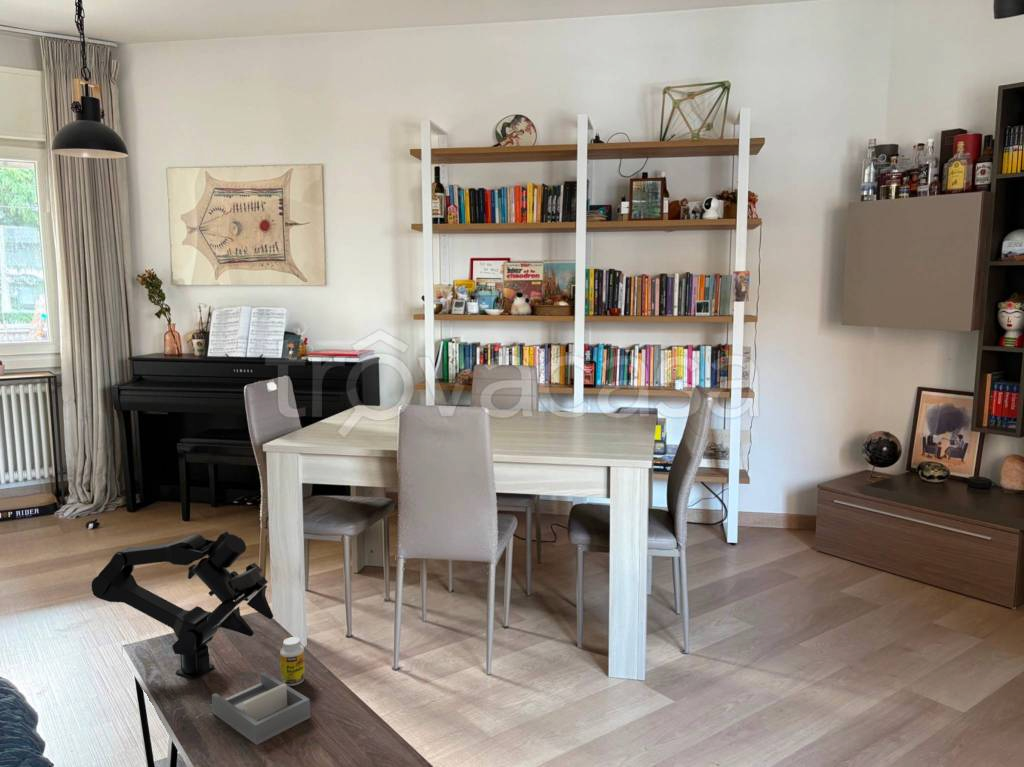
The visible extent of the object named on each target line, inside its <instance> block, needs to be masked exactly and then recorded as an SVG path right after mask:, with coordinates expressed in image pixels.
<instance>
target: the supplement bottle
mask: <svg viewBox="0 0 1024 767" xmlns="http://www.w3.org/2000/svg"><path fill="white" fill-rule="evenodd" d="M304 648H305V647H304V646H303V645H302V644H301V639H300V638H299V637H298V636H292V637H291V636H290V637H287V638H285V639H284V640H283V641H282V648H280V651H279V661H280V662H279V664H280V682H282V683H284V684H286V685H287V686H289V687H293V686H297V685H300V684H302V683H303V682H304V680H305V676H306V673H305V667H306V666H305V649H304Z"/></svg>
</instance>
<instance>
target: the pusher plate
mask: <svg viewBox="0 0 1024 767" xmlns="http://www.w3.org/2000/svg"><path fill="white" fill-rule="evenodd" d="M286 706H287V685H286V684H281V685H279V686H277V687H275V688H273V689H270V690H268V691H266V692H264V693H262V694H260V695H257V696H255V697H253V698H251V699H249V700H246V701H244V702H243V712H244V713H246V714H247V715H249V716H250V717H251V718H253V719H254V720H256V721H257V720H259V719H261V718H263V717H266V716H268V715H270V714H272V713H274V712H276V711H278V710H280V709H282V708H284V707H286Z"/></svg>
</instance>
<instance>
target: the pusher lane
mask: <svg viewBox="0 0 1024 767" xmlns="http://www.w3.org/2000/svg"><path fill="white" fill-rule="evenodd" d="M281 684H284V683H282V682H281V680H279V679H277V678H276V677H274V676H272V675H270V674H269V673H268V672H265V671H264V672H261V673H260V683H257V684H256V685H253V686H251V687H248V688H246V689H244V690H242V691H240V692H237V693H236V694H233V695H230V696H228V697H226V698H224V697H223V696H221V695H219V693H217V692H215V693H213V694H211V704H212V706H211V707H212V714H213V713H214V715H215V716H216V717H217V718H219V719H220V720H222V721H223V722H224V723H226V724H227V725H229V726H230V727H231V728H232V729H234V730H235V731H237V732H238V733H239V734H241V735H242V736H244V737H245V738H246V739H248V740H249V741H251V742H252V743H253V744H255V745H256V746H257V745H260V744H262V743H263V742H265V741H268V740H270V739H271V738H273V737H275V736H277V735H279V734H281V733H283V732H285V731H287V730H289V729H290V728H293V727H294V726H296V725H299V724H300V723H303V722H304V721H306V720H309V719H310V718H311V706H310V705H311V704H310V703H311V701H310V698H308V697H307V696H306V695H303V694H301V692H298V691H297V690H295V689H294V688H292V687H291V686H287V706H286V707H284V708H282V709H280V710H278V711H276V712H274V713H272V714H270V715H268V716H266V717H263V718H261V719H259V720H257V721H256V720H254V719H253V718H251V717H250V716H249V715H247V714H246V713H244V712H243V702H244V701H246V700H249V699H251V698H253V697H255V696H257V695H260V694H262V693H264V692H266V691H268V690H270V689H273V688H275V687H277V686H279V685H281Z"/></svg>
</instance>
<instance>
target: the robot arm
mask: <svg viewBox="0 0 1024 767" xmlns="http://www.w3.org/2000/svg"><path fill="white" fill-rule="evenodd" d="M246 550H247V546H246V543H245V541H244V540H243V538H241V537H240V536H238V535H235V534H230V533H229V532H228V531H224V532H222V533H220V535H219V536H218V537H217V539H216V540H212V539H208V538H204V537H203V535H201V534H197V533H196V534H193V535H190V536H186V537H183V538H181V539H178V540H176V541H172V542H169V543H168V542H167V543H160V544H152V545H143V546H135V547H133V546H128V547H126V548H125V547H124V548H123V549H121V550H118V551H117V552H115V553H114V555H113V556H112V557H111V559H110V561H109V562H108V563H107V564H106V566H104V568H103V569H102V570H101V571H100V572H99V574H98V575H97V576H95V577H94V578H92V579H93V580H92V581H91V592H92V594H93V596H95V597H96V598H97V599H100V600H103V601H105V602H109V603H122V604H126V605H128V606H129V607H131V608H133V609H135V610H136V611H139V612H141V613H142V614H144V615H146V616H148V617H150V618H152V619H154V620H156V621H157V622H160V623H161V624H163V625H165V626H167V627H168V628H171V629H172V630H173V632H174V634H175V636H176V638H177V641H175V642H174V643H173V644H172V645H171V648H172V650H173V653H174V654H175V655H179V656H180V657H179V658H180V668H179V669H177V670H175V674H176V675H181V676H183V677H186V678H189V679H192V680H194V679H196V678H198V677H200V676H201V675H203V674H206V673H207V672H209V671H210V670H212V669H214V668H215V664H212V663H210V661H211V660H210V652H209V646H208V645H207V644H208V643H209V642H210V641H212V640H213V639H214V635H216V634H217V632H218V629H220V628H222V629H225V630H230V631H234V632H236V633H239V634H243V635H245V636H247V637H252V636H254V634H255V632H254V631H253V629H252V628H251V626H250V625H249V624H248V623H247V621H246V620H245V619H244V617H243V616H241V611H240V606H238V605H240V604H241V603H243V602H244V601H246V602H247V603H246V605H247V606H248V607H250V608H251V609H253V610H254V611H256V612H258V613H259V614H260V615H261V616H264V617H265V618H267V619H269V620H272V619H273V618H274V613H273V612H272V609H271V607H270V604H269V603H268V601H267V600H268V599H267V597H266V591H267V590H266V589H267V588H268V586H267V584H268V582H269V581H268V580H267V579H266V578H265V577H264V576H261V574H262V572H263V569H262V568H261V567H260V566H259V565H258V564H257V563H255V562H252V563H250V564H248V565H247V566H246V567H245V571H243V572H242V573H240V574H239V573H238V572H237V571H235V570H233V571H231V572H230V571H229V569H227V568H231V566H232V565H233V564H234V563H235V562H236V561H237V560H238V559H239V558H240V557H241V556H242V555H243V554H244V553H245V552H246ZM206 556H208V557H206ZM196 561H198V562H197V563H196V564H192V563H194V562H196ZM157 563H170V564H171V565H174V566H189V565H190V566H189V567H188V573H187V578H188V580H191V579H193V578H194V577H196V576H197V577H198V578H199V579H200V580H201V582H202V583H204V584H205V586H206V587H207V588H208V589H209V590H210V591H209V592H208V593H207V594H208V595H209V597H213V596H215V597H217V599H218V600H220V602H221V603H220V604H219V605H218V606H216V608H214V609H213V610H212V612H211V611H207V610H205V609H203V608H202V607H201V606H198V605H195V607H194V608H192V609H190V610H187V609H184V608H182V607H180V606H178V605H176V604H175V603H172V602H170V601H168V600H167V599H165V598H163V597H161V596H159V595H157V594H156V593H154V592H152V591H149V590H148V589H147V588H144V587H142V586H140V585H139V584H138V583H137V581H136V579H135V576H134V575H133V574H132V573H133V572H134V570H135V566H140V565H149V564H157Z"/></svg>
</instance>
